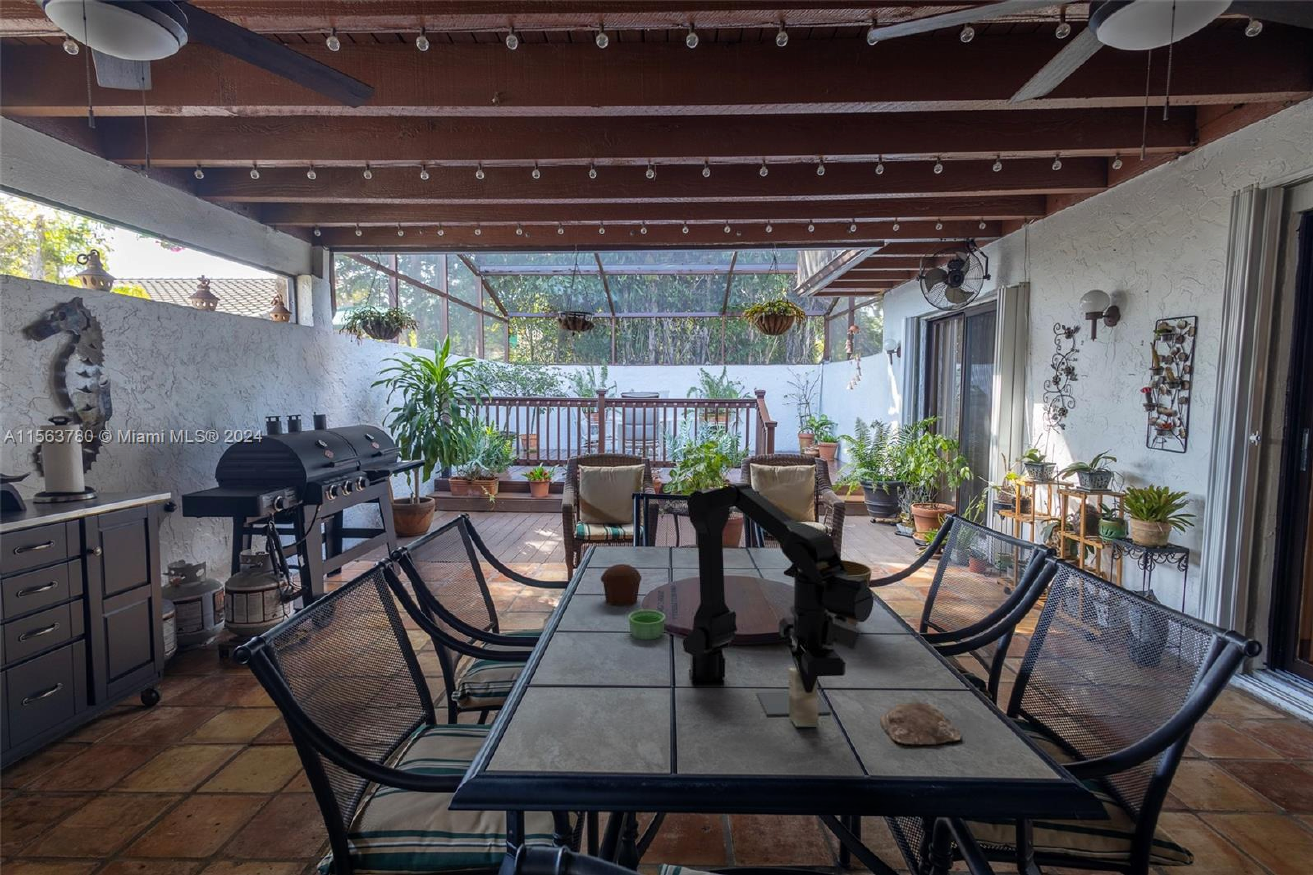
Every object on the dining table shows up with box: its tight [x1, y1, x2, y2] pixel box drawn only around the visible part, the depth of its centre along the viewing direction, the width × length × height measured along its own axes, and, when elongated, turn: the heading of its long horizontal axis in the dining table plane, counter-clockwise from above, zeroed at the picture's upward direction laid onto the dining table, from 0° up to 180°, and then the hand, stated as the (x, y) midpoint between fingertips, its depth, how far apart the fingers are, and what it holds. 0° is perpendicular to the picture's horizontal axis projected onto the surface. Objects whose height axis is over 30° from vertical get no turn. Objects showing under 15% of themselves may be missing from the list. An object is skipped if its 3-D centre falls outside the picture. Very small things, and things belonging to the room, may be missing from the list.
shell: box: [880, 701, 963, 748], centre depth 109 cm, size 12×13×4 cm
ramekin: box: [628, 609, 666, 641], centre depth 150 cm, size 9×9×4 cm
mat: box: [756, 690, 831, 717], centre depth 117 cm, size 12×8×1 cm, turn 94°
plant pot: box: [817, 559, 873, 628], centre depth 153 cm, size 15×15×16 cm
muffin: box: [600, 563, 642, 607], centre depth 172 cm, size 12×11×10 cm
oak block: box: [788, 667, 819, 728], centre depth 110 cm, size 4×4×9 cm
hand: (808, 691), depth 107 cm, fingers closed
